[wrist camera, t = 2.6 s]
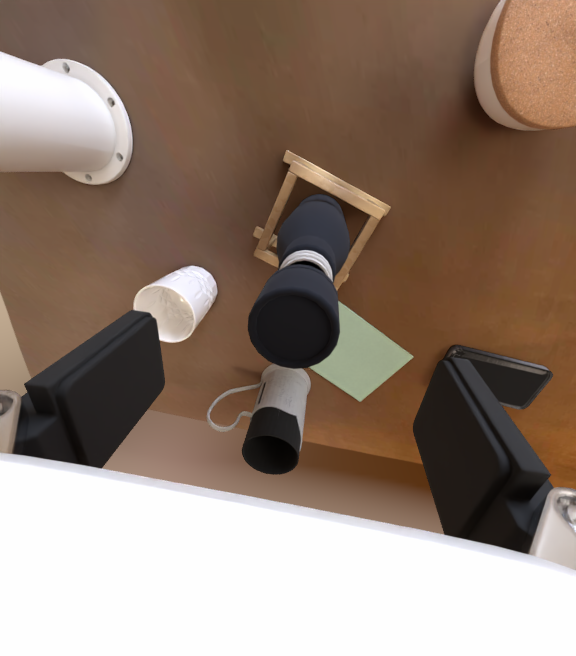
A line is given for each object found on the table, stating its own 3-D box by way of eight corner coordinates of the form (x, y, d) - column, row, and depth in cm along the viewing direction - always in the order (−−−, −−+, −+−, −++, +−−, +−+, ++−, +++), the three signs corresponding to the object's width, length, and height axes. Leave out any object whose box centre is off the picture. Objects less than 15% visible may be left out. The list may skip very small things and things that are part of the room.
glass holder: (300, 408, 54) (290, 485, 41) (226, 382, 53) (192, 451, 40) (318, 372, 50) (313, 445, 37) (238, 343, 49) (204, 407, 36)
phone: (455, 347, 43) (556, 372, 43) (452, 343, 44) (551, 368, 44) (431, 388, 47) (524, 411, 47) (429, 383, 48) (520, 406, 48)
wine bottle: (342, 246, 40) (365, 397, 13) (294, 245, 40) (226, 388, 14) (345, 193, 37) (382, 254, 10) (293, 194, 37) (205, 253, 11)
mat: (265, 336, 48) (264, 337, 47) (310, 279, 42) (310, 280, 42) (360, 400, 51) (360, 401, 51) (412, 355, 46) (413, 357, 46)
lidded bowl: (584, 120, 31) (701, 98, 21) (451, 151, 33) (501, 144, 24) (617, -56, 25) (798, -197, 15) (455, -2, 28) (522, -93, 18)
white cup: (224, 268, 43) (197, 293, 34) (219, 315, 47) (193, 349, 38) (171, 255, 43) (131, 277, 34) (171, 303, 47) (134, 334, 38)
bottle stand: (254, 234, 40) (234, 250, 32) (287, 150, 35) (274, 144, 27) (344, 280, 42) (347, 306, 34) (389, 206, 37) (406, 216, 29)
